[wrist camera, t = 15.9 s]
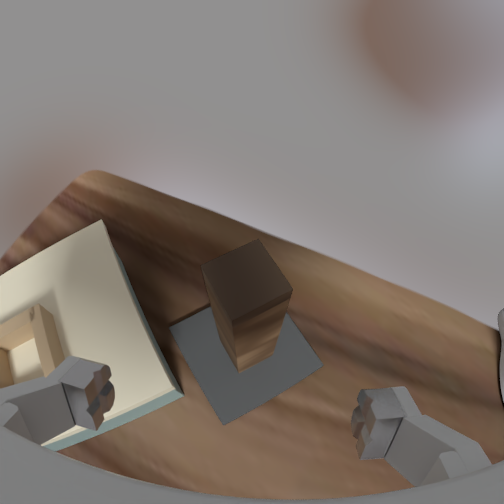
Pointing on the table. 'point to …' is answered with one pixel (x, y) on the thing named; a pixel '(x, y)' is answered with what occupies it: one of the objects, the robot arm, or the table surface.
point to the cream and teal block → (82, 327)
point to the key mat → (250, 380)
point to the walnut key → (247, 302)
